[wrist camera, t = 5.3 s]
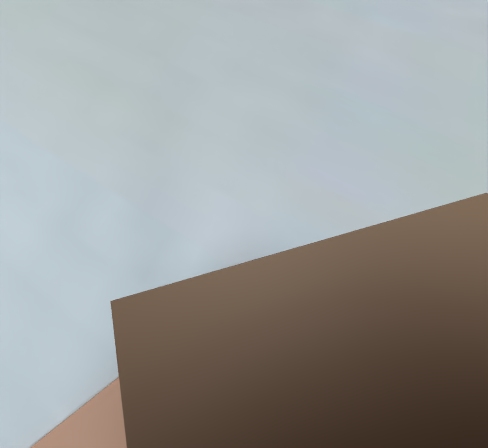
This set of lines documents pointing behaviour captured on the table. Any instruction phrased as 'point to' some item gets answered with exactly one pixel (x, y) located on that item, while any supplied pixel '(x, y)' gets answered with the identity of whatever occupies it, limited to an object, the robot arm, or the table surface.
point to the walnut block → (319, 344)
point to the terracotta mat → (91, 424)
